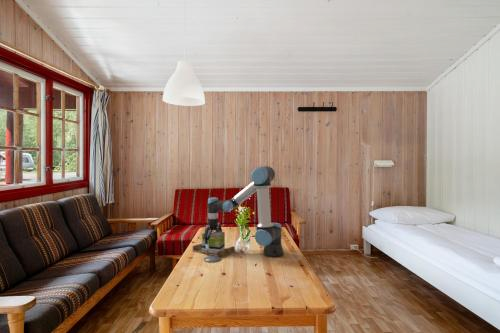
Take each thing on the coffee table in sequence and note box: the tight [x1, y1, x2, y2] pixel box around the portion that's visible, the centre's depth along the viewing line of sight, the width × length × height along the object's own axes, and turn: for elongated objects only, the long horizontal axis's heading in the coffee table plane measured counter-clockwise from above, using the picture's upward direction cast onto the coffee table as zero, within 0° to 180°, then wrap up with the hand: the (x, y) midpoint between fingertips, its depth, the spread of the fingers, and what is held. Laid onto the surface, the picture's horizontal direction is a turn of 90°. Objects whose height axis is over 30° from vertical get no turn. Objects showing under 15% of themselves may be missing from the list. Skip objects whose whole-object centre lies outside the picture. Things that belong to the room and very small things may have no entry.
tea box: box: [201, 230, 226, 255], centre depth 236 cm, size 15×10×15 cm
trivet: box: [203, 255, 222, 263], centre depth 217 cm, size 12×12×1 cm
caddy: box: [192, 242, 236, 258], centre depth 236 cm, size 18×27×4 cm, turn 51°
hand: (213, 246), depth 236 cm, fingers closed on tea box, 12 cm apart
